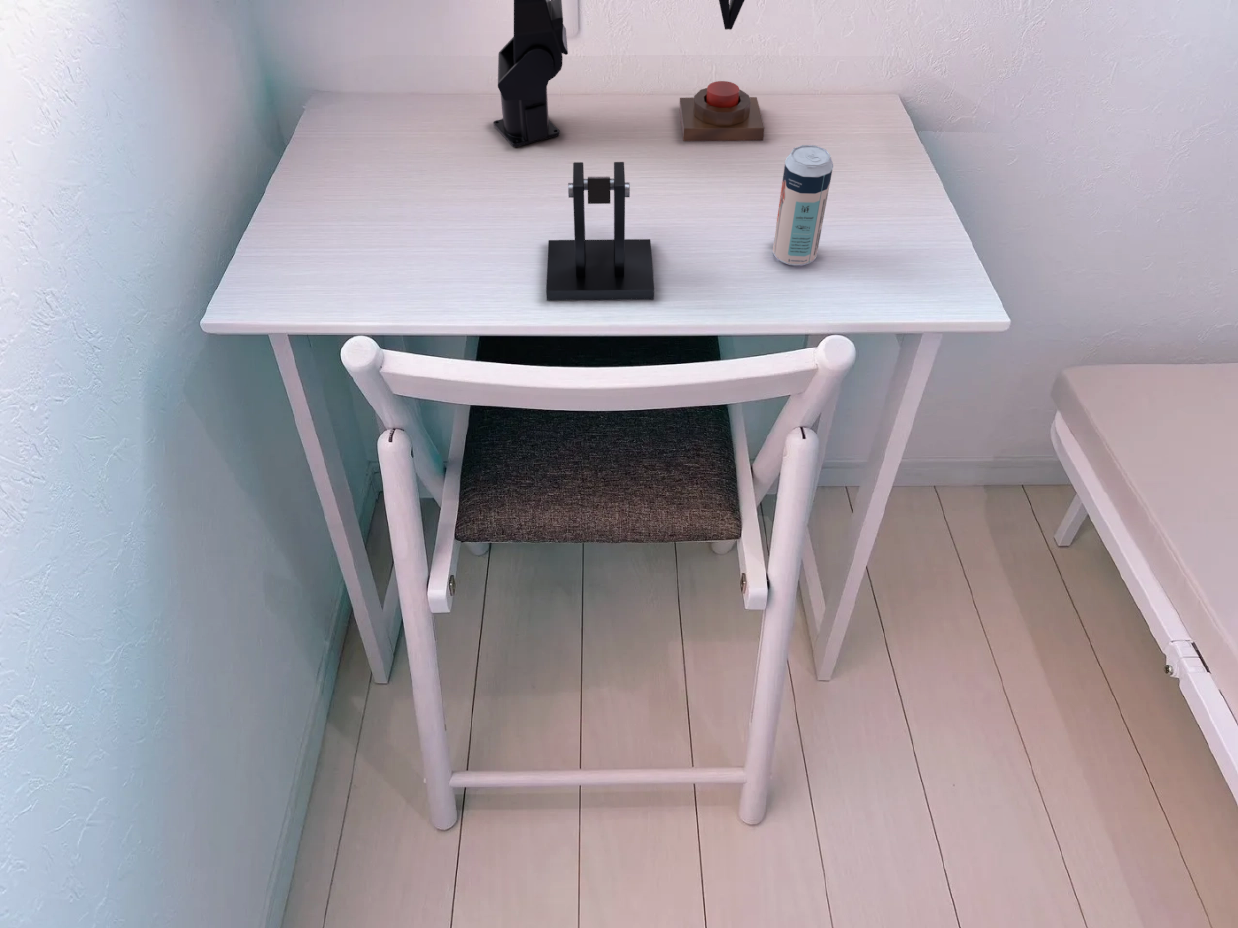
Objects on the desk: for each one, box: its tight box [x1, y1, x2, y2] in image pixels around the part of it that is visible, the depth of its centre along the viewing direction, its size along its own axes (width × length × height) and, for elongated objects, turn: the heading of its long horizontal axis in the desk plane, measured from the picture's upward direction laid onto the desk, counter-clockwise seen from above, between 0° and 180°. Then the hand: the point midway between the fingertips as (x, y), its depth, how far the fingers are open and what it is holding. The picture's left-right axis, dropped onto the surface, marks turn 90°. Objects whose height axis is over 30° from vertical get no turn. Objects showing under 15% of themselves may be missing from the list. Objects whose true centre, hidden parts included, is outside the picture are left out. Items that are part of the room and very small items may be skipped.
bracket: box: [545, 161, 655, 301], centre depth 99 cm, size 9×11×12 cm
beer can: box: [772, 144, 834, 267], centre depth 101 cm, size 5×5×12 cm
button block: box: [678, 87, 765, 142], centre depth 124 cm, size 10×8×4 cm
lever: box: [584, 176, 614, 205], centre depth 100 cm, size 11×5×2 cm, turn 1°
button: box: [706, 80, 740, 108], centre depth 122 cm, size 4×4×2 cm
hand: (727, 28), depth 116 cm, fingers closed
